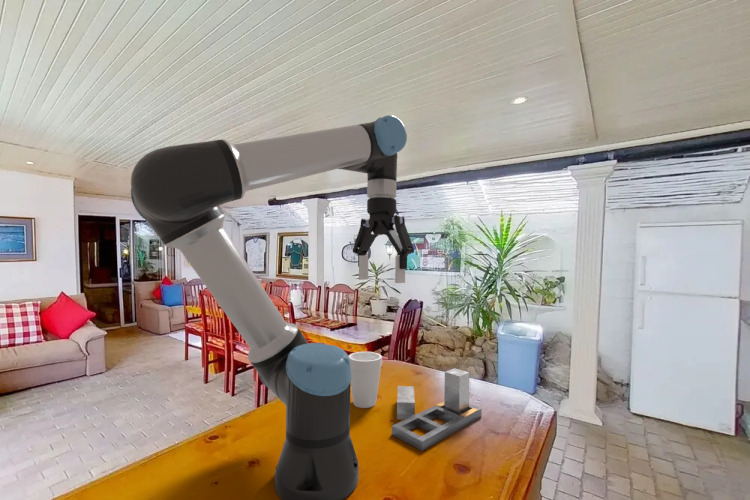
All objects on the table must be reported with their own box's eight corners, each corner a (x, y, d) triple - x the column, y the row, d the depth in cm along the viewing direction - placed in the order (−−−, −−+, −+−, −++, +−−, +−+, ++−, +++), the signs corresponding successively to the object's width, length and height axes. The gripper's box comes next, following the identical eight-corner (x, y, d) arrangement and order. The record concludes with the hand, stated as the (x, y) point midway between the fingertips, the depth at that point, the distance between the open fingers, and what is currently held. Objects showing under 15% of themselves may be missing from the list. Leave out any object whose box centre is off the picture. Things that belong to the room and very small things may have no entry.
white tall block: (459, 420, 86) (459, 376, 86) (444, 414, 89) (444, 371, 89) (469, 415, 89) (469, 372, 89) (454, 409, 92) (454, 368, 92)
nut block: (414, 420, 86) (414, 402, 86) (396, 420, 87) (397, 402, 87) (413, 402, 97) (413, 386, 97) (397, 401, 98) (397, 385, 98)
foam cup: (382, 397, 100) (383, 352, 100) (380, 411, 91) (380, 362, 91) (350, 395, 101) (351, 351, 101) (344, 409, 92) (345, 360, 92)
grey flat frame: (422, 451, 73) (422, 440, 73) (391, 434, 79) (391, 425, 79) (481, 416, 89) (481, 407, 89) (452, 405, 95) (452, 397, 95)
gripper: (429, 194, 82) (428, 283, 81) (361, 205, 100) (360, 277, 100) (408, 190, 77) (407, 285, 76) (340, 202, 95) (339, 278, 95)
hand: (380, 281), depth 88 cm, fingers open, 13 cm apart
